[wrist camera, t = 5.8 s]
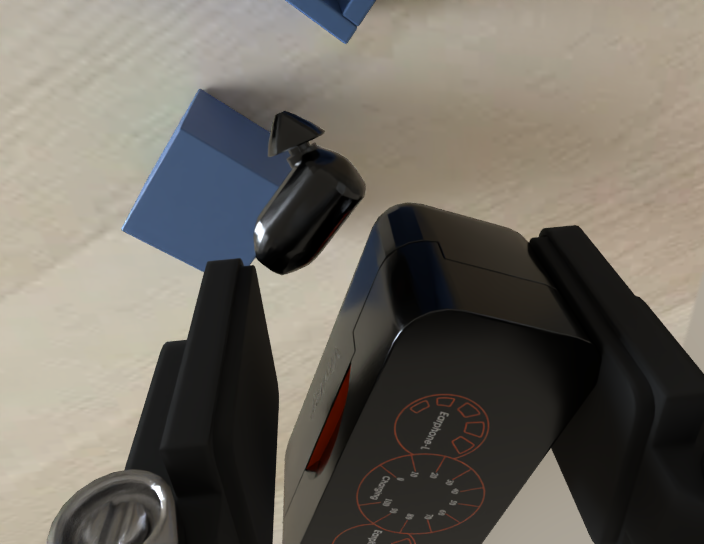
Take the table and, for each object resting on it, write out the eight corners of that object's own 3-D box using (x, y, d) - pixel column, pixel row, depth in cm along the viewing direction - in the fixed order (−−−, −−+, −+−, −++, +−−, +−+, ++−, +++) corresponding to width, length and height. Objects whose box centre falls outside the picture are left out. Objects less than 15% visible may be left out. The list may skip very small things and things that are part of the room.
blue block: (199, 87, 23) (179, 127, 19) (298, 150, 24) (298, 198, 21) (147, 178, 25) (120, 230, 21) (243, 230, 26) (233, 288, 22)
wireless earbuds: (558, 180, 10) (661, 296, 7) (401, 467, 13) (427, 619, 10) (277, 95, 9) (267, 192, 6) (188, 432, 12) (155, 591, 9)
